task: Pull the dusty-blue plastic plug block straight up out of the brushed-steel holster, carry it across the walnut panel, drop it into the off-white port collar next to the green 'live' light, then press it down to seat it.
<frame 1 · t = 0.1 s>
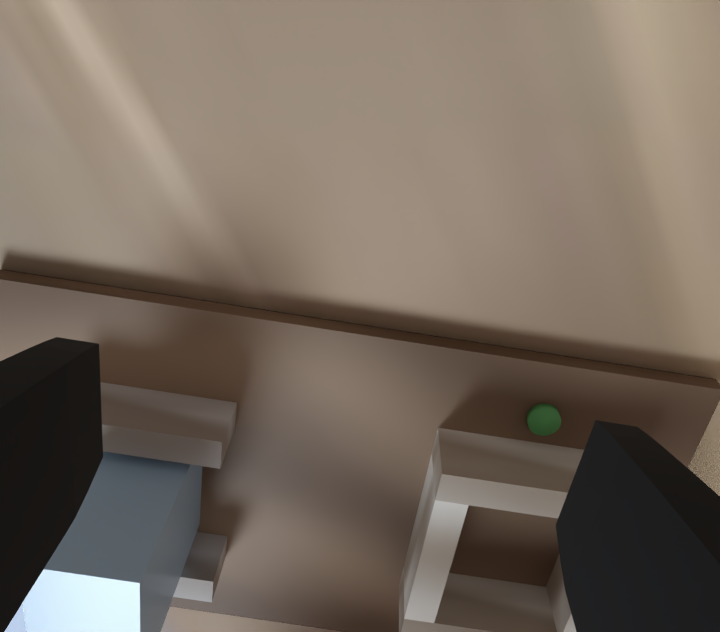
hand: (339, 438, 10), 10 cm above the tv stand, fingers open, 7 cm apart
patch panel: (334, 487, 23), on the tv stand
plug: (157, 473, 22), point 1 cm above the tv stand, touching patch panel
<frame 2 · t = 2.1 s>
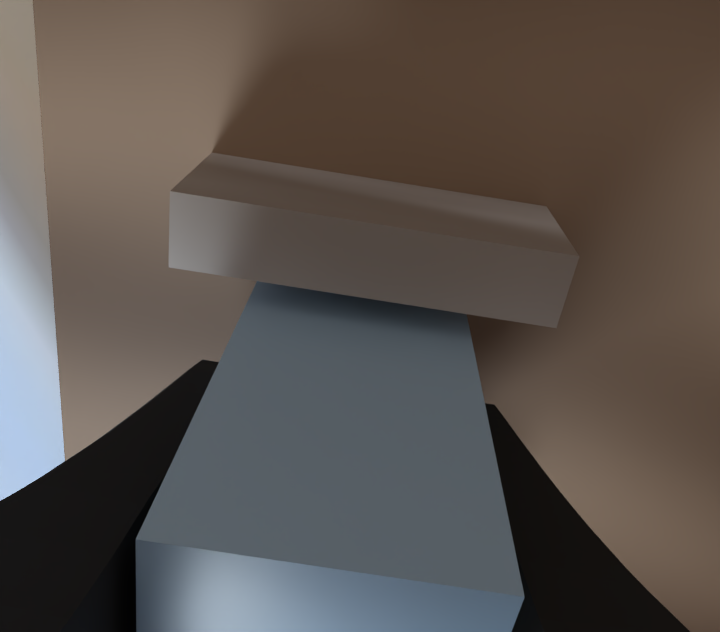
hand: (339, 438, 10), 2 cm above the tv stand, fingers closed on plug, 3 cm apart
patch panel: (678, 406, 12), on the tv stand
plug: (348, 373, 11), point 1 cm above the tv stand, touching gripper, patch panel
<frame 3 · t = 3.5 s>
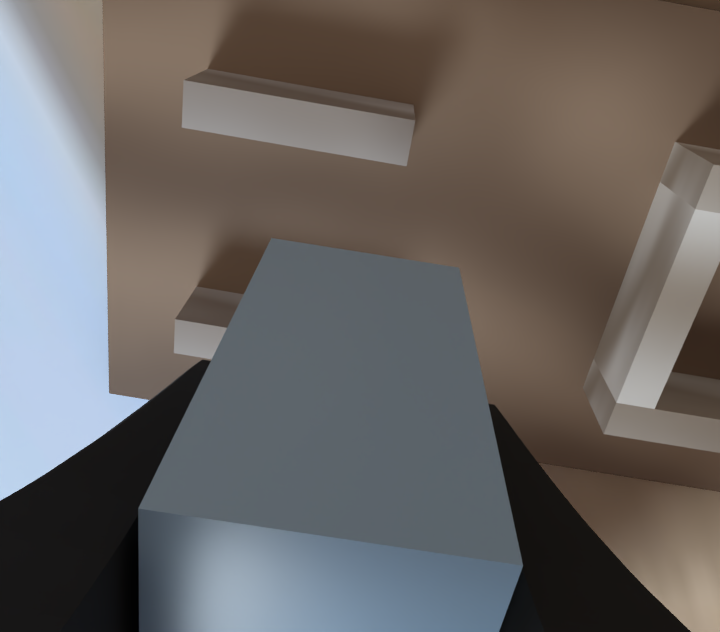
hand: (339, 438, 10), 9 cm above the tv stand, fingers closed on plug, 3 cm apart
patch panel: (514, 250, 18), on the tv stand
plug: (348, 360, 11), point 7 cm above the tv stand, touching gripper
when the fingers open (3 cm above the tv stand, at t = 5.3 s): plug stays where it is, resting on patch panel.
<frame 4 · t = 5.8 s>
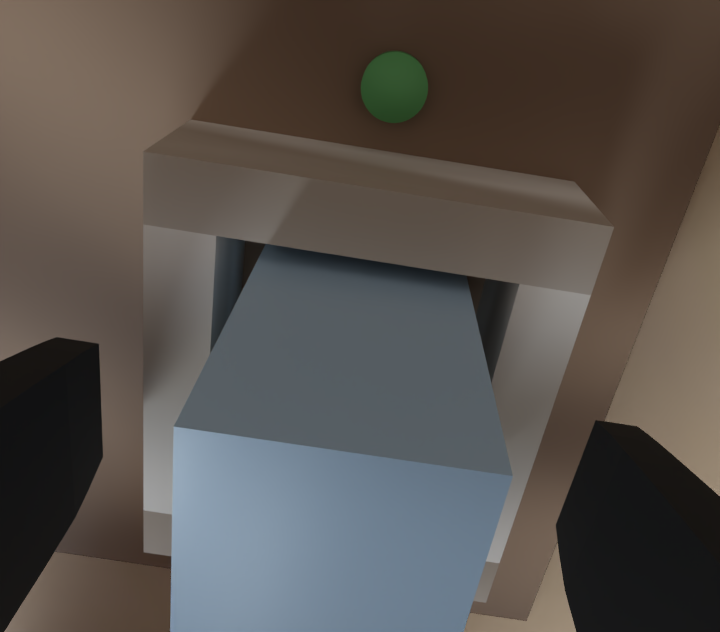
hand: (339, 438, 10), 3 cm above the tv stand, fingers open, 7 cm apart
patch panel: (42, 280, 13), on the tv stand
plug: (353, 329, 12), point 1 cm above the tv stand, touching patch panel
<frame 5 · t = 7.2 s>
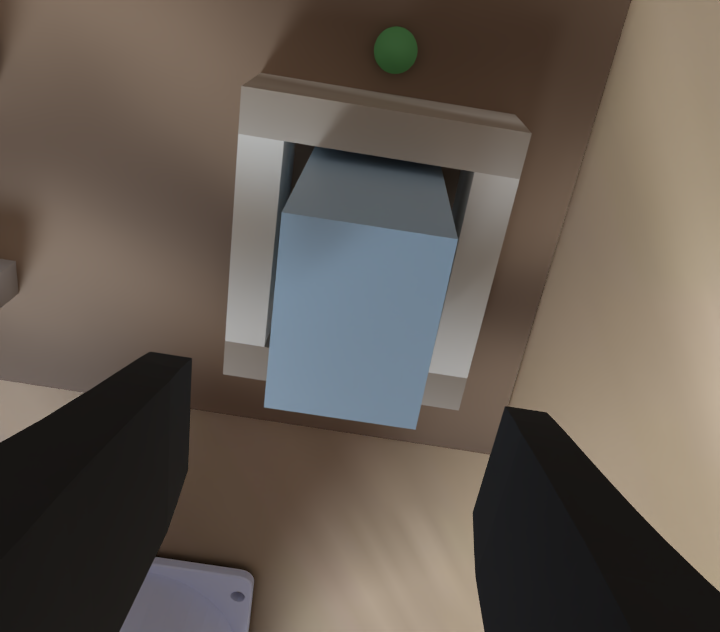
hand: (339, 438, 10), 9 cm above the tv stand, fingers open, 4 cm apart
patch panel: (148, 191, 18), on the tv stand
plug: (367, 222, 17), point 1 cm above the tv stand, touching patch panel
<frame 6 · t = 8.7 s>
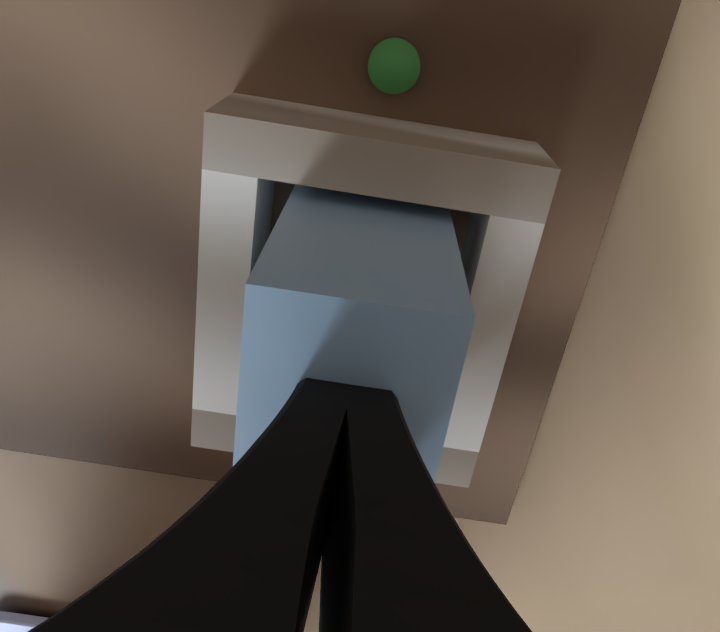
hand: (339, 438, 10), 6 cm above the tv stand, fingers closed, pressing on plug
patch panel: (104, 228, 15), on the tv stand
plug: (361, 266, 15), point 1 cm above the tv stand, touching gripper, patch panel
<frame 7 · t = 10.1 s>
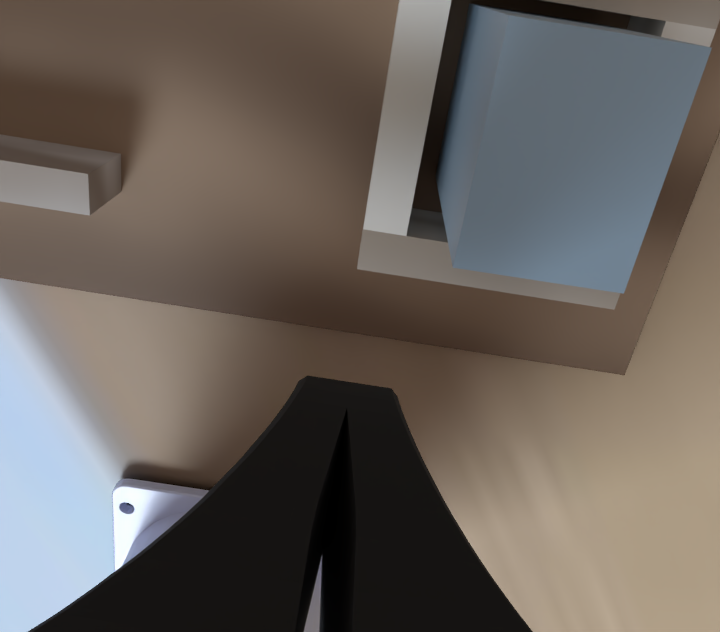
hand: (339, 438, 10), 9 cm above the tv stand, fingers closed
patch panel: (268, 74, 16), on the tv stand
plug: (513, 104, 16), point 1 cm above the tv stand, touching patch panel
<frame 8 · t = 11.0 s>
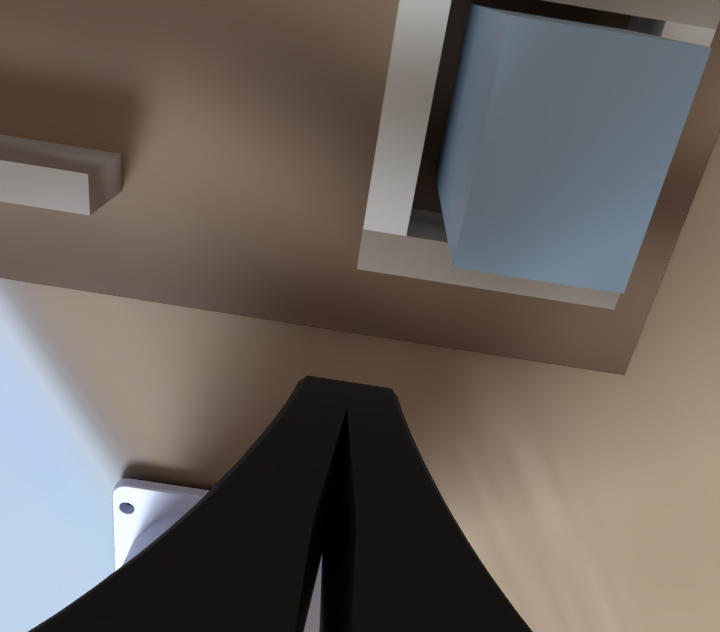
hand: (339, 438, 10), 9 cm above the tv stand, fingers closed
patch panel: (268, 74, 16), on the tv stand
plug: (513, 104, 16), point 1 cm above the tv stand, touching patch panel
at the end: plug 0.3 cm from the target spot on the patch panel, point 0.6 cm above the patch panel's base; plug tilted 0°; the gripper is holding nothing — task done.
